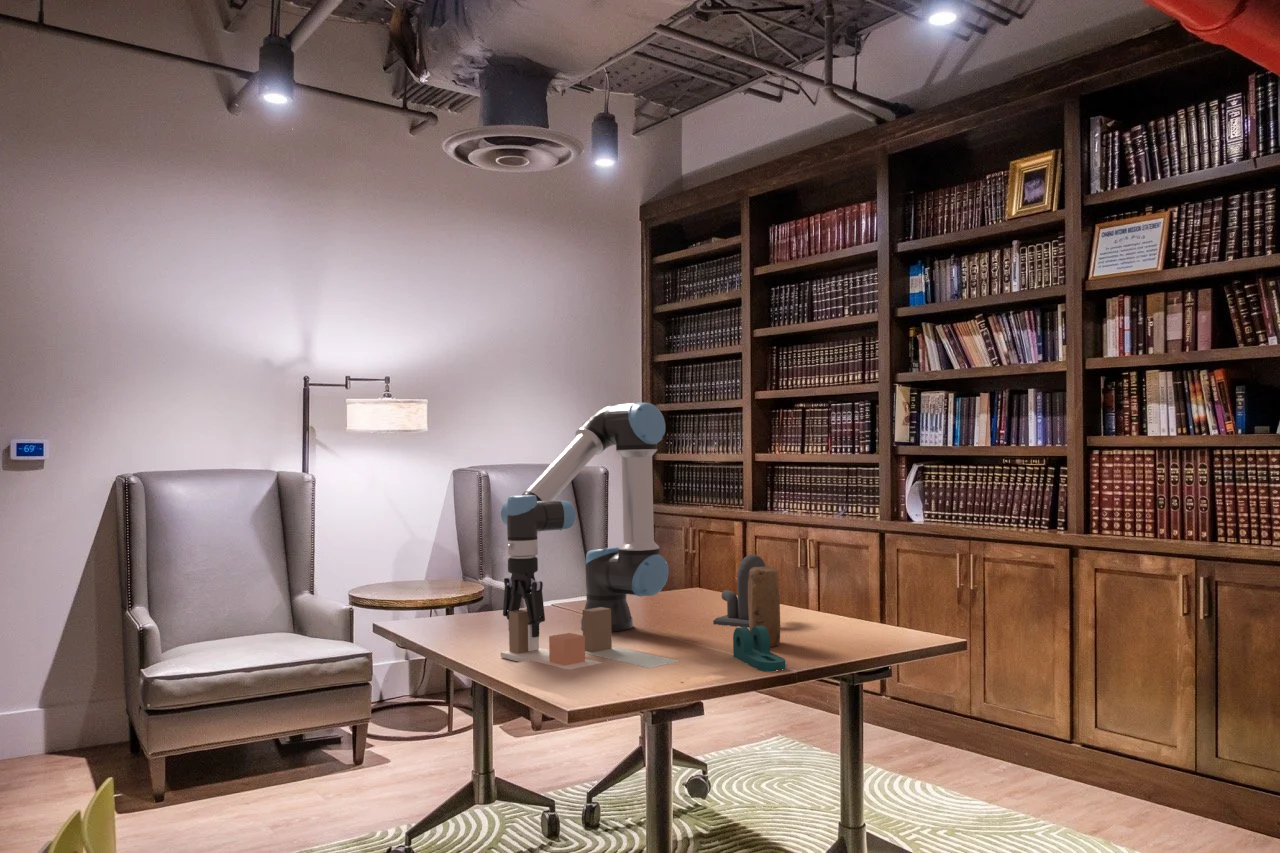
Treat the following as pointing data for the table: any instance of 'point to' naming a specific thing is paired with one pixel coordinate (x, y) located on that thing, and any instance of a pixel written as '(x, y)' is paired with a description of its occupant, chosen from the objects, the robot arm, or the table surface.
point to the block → (764, 601)
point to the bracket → (756, 649)
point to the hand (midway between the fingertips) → (523, 647)
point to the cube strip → (544, 659)
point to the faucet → (739, 595)
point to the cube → (567, 649)
